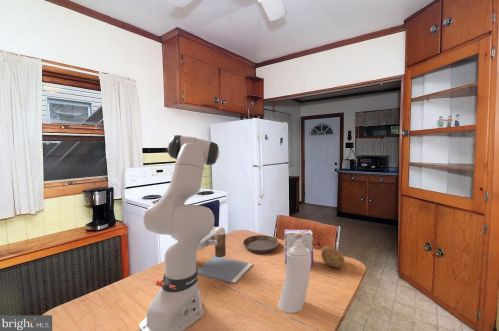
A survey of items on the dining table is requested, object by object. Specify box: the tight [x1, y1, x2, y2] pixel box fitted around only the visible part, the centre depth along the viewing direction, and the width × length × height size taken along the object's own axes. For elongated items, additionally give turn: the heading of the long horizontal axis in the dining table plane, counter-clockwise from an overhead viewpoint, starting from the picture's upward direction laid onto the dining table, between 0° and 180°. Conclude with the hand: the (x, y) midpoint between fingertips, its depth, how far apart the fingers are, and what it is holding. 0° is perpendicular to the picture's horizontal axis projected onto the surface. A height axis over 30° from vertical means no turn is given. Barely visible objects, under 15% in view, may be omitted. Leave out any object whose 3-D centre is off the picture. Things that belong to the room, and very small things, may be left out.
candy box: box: [284, 229, 314, 266], centre depth 124 cm, size 14×6×16 cm, turn 84°
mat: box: [197, 255, 254, 285], centre depth 119 cm, size 18×22×1 cm
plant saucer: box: [242, 234, 279, 254], centre depth 145 cm, size 21×21×3 cm
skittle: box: [214, 226, 226, 258], centre depth 119 cm, size 5×5×14 cm
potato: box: [320, 245, 345, 269], centre depth 121 cm, size 10×14×8 cm
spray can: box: [277, 240, 312, 314], centre depth 92 cm, size 12×11×25 cm
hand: (221, 240), depth 119 cm, fingers closed on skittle, 5 cm apart
